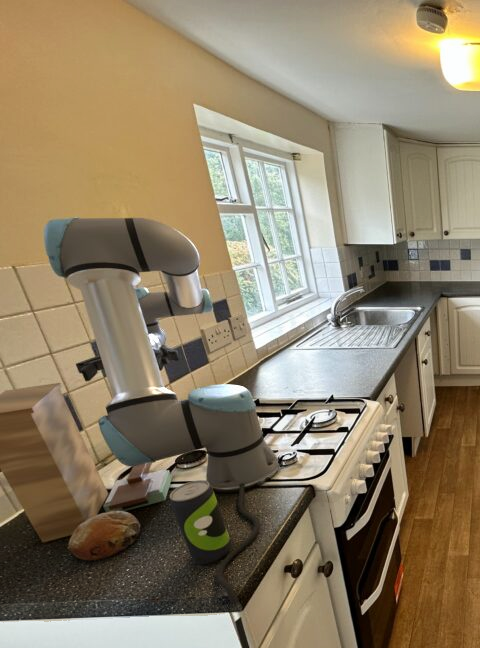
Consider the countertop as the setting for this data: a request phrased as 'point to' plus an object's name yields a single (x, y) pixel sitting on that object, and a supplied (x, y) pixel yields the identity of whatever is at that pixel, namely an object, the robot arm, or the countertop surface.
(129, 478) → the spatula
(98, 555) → the bread roll
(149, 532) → the countertop surface
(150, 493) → the scale
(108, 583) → the countertop surface
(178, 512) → the beverage can
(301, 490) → the countertop surface
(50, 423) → the stand
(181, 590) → the countertop surface
